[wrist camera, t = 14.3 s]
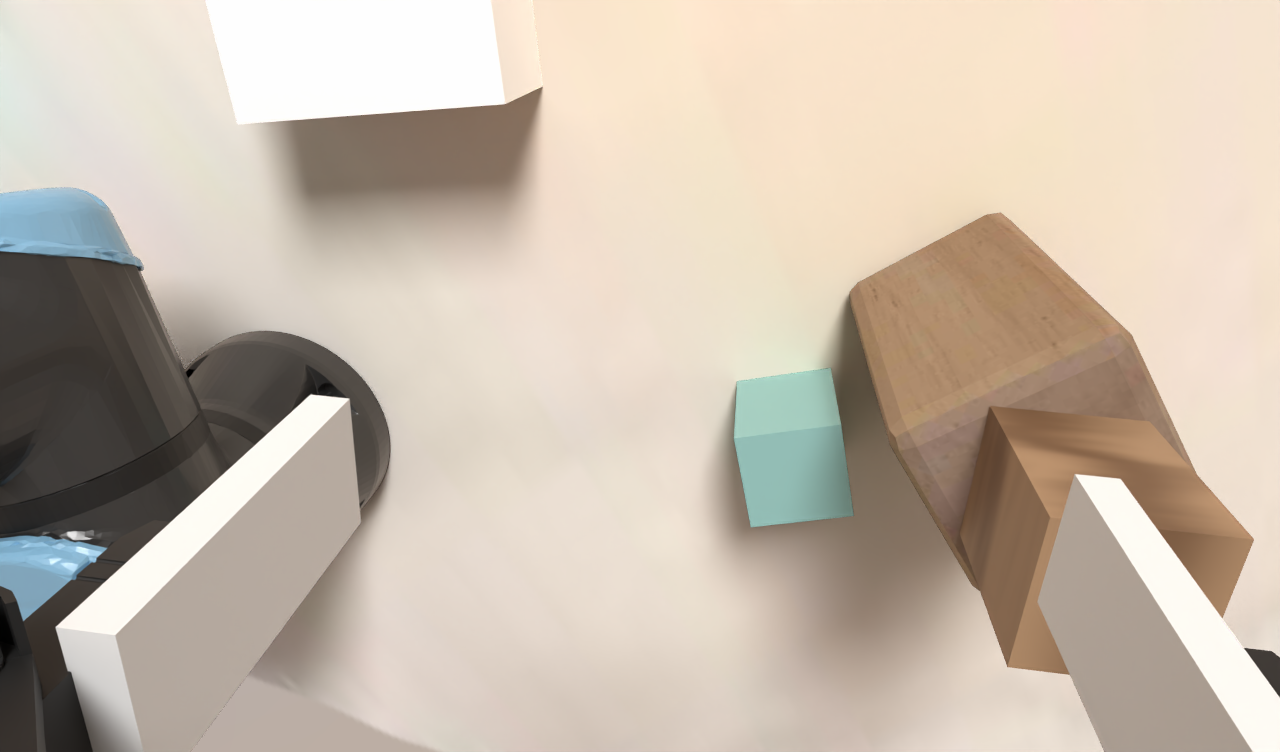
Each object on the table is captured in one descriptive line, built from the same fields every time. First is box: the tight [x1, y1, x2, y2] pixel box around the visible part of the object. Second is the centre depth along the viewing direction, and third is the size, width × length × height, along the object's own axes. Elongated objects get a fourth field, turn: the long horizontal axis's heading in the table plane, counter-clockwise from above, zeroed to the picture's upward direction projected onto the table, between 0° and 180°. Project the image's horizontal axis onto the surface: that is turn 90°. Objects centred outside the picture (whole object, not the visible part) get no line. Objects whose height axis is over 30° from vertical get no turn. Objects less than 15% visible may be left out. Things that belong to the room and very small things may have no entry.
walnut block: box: [960, 406, 1254, 675], centre depth 32 cm, size 6×6×8 cm
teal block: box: [734, 368, 854, 527], centre depth 54 cm, size 6×6×8 cm
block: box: [850, 213, 1196, 591], centre depth 45 cm, size 10×10×20 cm
